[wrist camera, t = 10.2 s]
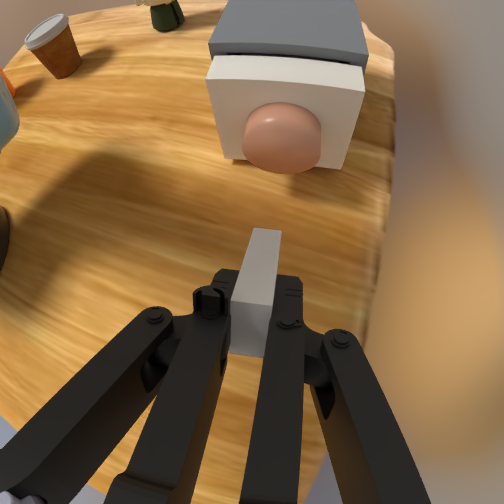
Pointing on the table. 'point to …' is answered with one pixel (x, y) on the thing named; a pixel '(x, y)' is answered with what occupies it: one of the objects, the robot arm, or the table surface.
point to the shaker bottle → (8, 84)
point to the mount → (292, 30)
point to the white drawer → (285, 109)
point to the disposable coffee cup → (54, 46)
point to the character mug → (163, 13)
